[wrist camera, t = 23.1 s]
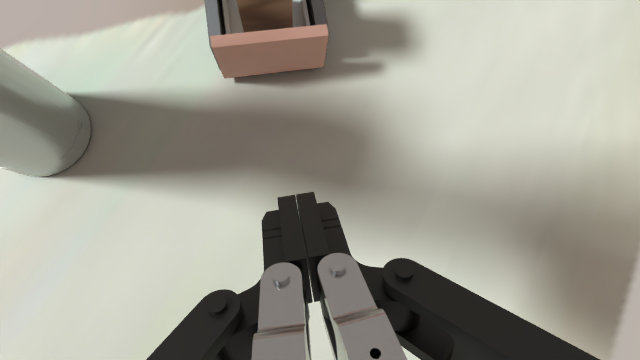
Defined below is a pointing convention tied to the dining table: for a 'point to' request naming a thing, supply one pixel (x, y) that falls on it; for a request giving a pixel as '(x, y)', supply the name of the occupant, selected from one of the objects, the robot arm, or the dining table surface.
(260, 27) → the walnut block
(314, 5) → the block
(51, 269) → the dining table surface
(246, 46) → the dock tray
